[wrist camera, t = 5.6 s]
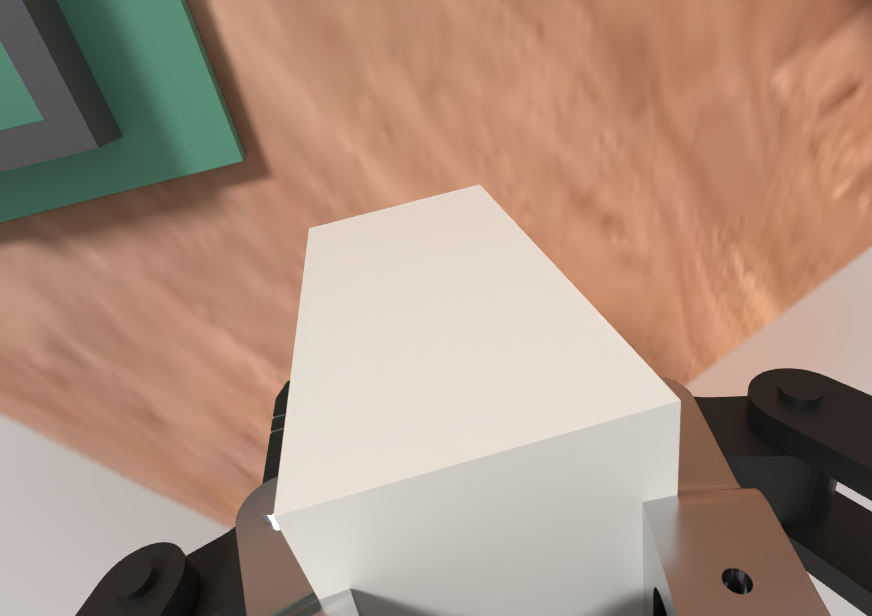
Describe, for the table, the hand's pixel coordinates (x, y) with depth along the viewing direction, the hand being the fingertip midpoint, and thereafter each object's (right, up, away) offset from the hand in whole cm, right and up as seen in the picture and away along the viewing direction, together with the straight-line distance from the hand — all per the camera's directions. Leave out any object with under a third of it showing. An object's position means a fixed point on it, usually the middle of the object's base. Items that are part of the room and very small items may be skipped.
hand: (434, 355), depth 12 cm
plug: (0, +1, +2) cm, 2 cm away
